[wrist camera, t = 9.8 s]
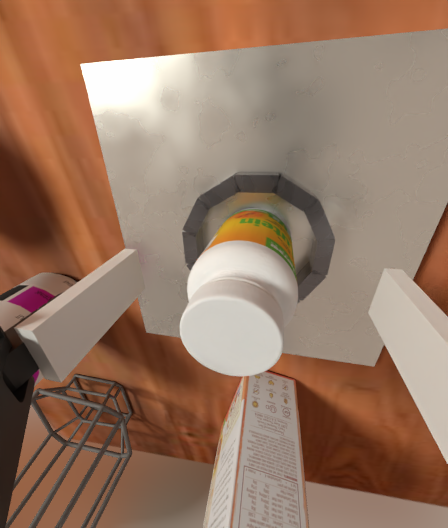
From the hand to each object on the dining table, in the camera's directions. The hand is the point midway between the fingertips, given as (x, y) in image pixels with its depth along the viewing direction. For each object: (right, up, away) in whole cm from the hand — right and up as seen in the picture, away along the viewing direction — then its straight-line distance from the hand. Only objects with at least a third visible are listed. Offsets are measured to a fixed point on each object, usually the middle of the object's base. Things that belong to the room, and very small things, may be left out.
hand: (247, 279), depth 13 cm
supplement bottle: (+1, +2, +4) cm, 5 cm away
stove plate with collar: (+1, +3, +5) cm, 6 cm away
